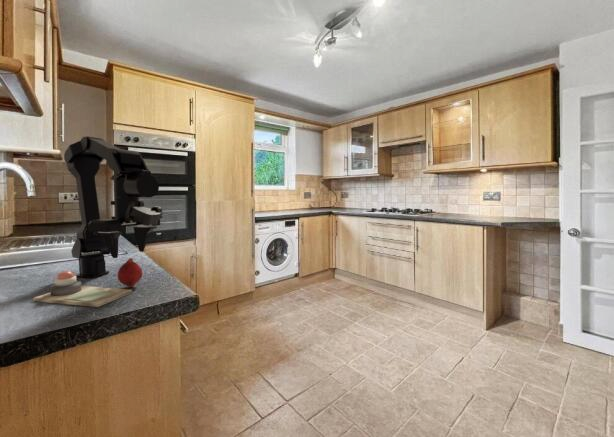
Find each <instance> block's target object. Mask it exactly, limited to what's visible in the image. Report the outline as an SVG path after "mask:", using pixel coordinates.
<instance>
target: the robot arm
mask: <svg viewBox="0 0 614 437" xmlns="http://www.w3.org/2000/svg"><path fill="white" fill-rule="evenodd" d="M63 159H64V162H65V163H66V167H67V170H68V172H70V173H71V175H72V176H73V177H74V178H75V181H76V182H75V183H76V184H75V185H76V192H77V196H78V198H77V199H78V206H79V213H80V220H81V225H80V227H79V229H78V230H77V232H76V235H75V236H76V239H75V241H74V243H73V246H72V248H71V250H70V252H71V256H72V258H74V259H78V269H79V270H78V271H79V272H78V274H74V276H76V278H87V279H92V278H93V279H94V278H97V277H99V276H100V277H101V276H103V275H107V274H109V273H110V271H109V270H107V269H106V260H105V256H106V255H107V256H108V255H110V256H111V257H112V258H113V259H117V258H118V257H119V237H121V235H122V234H123V231H120V230H121V229H122V228H126V227H132V228H133V232H134V236H135V240H136V243H137V247H138V250H139V252H144V251H145V248H146V246H147V242H148V240H149V236H150V234H151V232H154V231H155V230H156V229H157V228H158V226H161V219H163V208H162V207H160V206H157V205H156V206H152V207H151V208H150V207H145V203H144V201H143V200H140V198H144V199H145V198H147V199H149V198H150V199H151V198H152V197H155V196H156V195H157V194H158V192H159V190H160V184H159V182H158V180H157V179H156V178H155V177H154V176H152V172H151V170H150V169H149V168H148V166H147V165H146V162H145V160H144V158H143V157H142V154H141V153H140V152H139V151H136V150H127V149H122V148H120V147H118V146H115V145H114V144H112V143H109V142H108V141H106V140H105V139H103V138H101V137H94V136H87V135H86V136H83V137H82V138H81V139H80V140H79V141H77V142H73V143H71V144H70V145H68V147H67V149H65V151H64V154H63ZM104 160H105V163H106V164H105V165H106V166H107V167H108V168H109V169H110V170H112V171H113V172H114V173H113V174H112V175H111V177H110V180H111V181H113V194H114V196H113V198H114V199H113V200H111V201H110V205H111V206H112V205H113V206H114V216H111V218H107V219H106V218H103V219H102V218H101V215H100V214H101V213H100V208H99V207H100V206H99V200H98V199H99V198H98V192H97V184H96V175H97V174H98V172H99V170H100V165H101V164H102V162H103V161H104Z"/></svg>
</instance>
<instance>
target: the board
mask: <svg viewBox="0 0 614 437" xmlns="http://www.w3.org/2000/svg"><path fill="white" fill-rule="evenodd" d="M49 288H50V289H49V292H47V293H45V294H41V295H37V296H34V297H33V298H32V299H33V300H32V301H33V302H38V303H41V302H42V303H51V304H60V305H71V306H72V305H74V306H82V307H83V306H84V307H92V308H93V307H95V308H99V307H101V306H103V305H106V304H109V303H110V302H113V301H115V300H119V299H120V298H123V297H125V296H128V295H130V294H132V293H133V289H126V288H116V287H115V288H113V287H102V286H101V287H98V286H87V285H86V286H85V285H82V281H80V280H77V283H76V284H73V285H69V286H60V287H58V286H55V283H54V284H51V285H50V286H49Z"/></svg>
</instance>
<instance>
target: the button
mask: <svg viewBox="0 0 614 437" xmlns="http://www.w3.org/2000/svg"><path fill="white" fill-rule="evenodd" d="M77 281H78V280H77V277H76V276H75V273H74V272H72V271H70V270H62V271H61V272H59V273H58V274H57V276H56V277H55V278H54V284H55V286H58V287H60V286H69V285H73V284H76V283H77Z"/></svg>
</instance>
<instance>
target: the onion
mask: <svg viewBox="0 0 614 437" xmlns="http://www.w3.org/2000/svg"><path fill="white" fill-rule="evenodd" d="M143 274H144V273H143V269H142V267H141V266H140V265H139V264H138V263H136V262H135V261H134V258H132V257H131V258H128V259H127V260H126V262H124V263H123V264H122V265H121V266H120V267H119V269H118V272H117V279H118V281H119V282H120V284H122V285H124V286H126V287H129V288H133V287H134V286H135V285H136V284H137V283H138V282H140V280H141V279H142V278H143Z"/></svg>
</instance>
